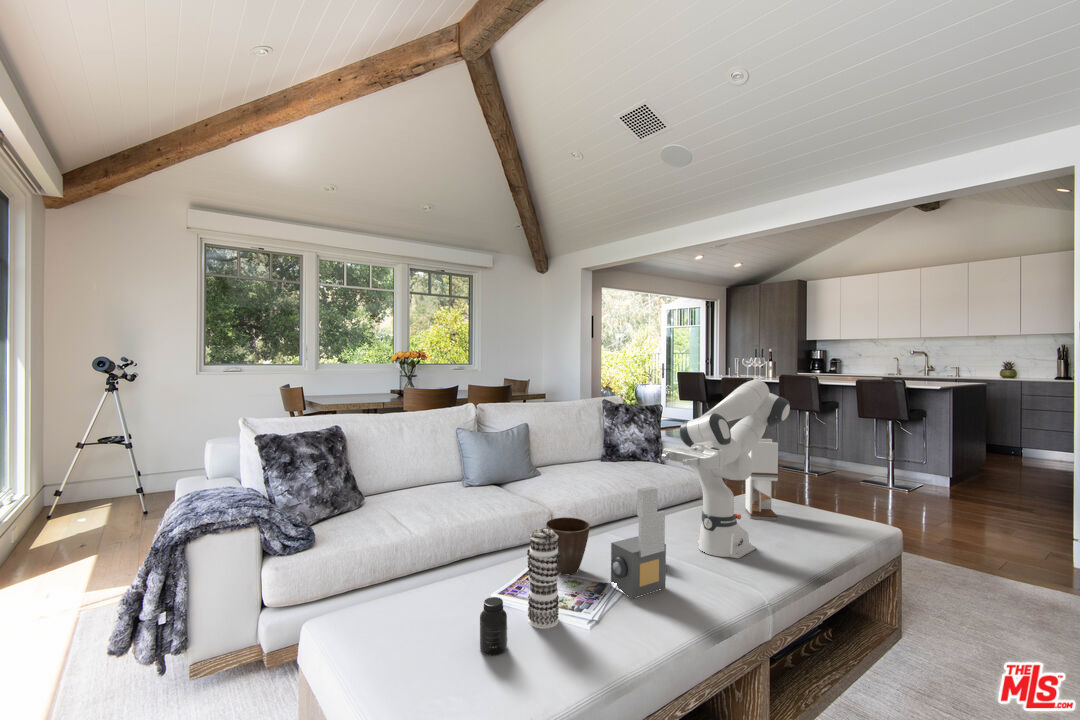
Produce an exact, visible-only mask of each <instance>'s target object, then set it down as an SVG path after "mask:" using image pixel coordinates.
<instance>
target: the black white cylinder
mask: <svg viewBox="0 0 1080 720" xmlns="http://www.w3.org/2000/svg"><path fill="white" fill-rule="evenodd" d="M528 537H529V539H530V545H529V549H527V553H526V555H527V556H528V557H527V568H528V571H527V572H528V573H527V575H528V581H529V593H528V597H527V598H528V602H527V604H528V608H527V612H528V613H527V617H528V619H527V620H528V621H527V622H528V624H529V625H530V626H532V627H533V628H537V629H541V630H542V629H543V630H544V629H545V630H546V629H552V628H553V627H555V626H557V625H558V623H559V600H560V599H559V594H558V590H559V589H558V581H559V580H560V579H559V575H560V573H559V571H558V569H559V568H560V566H559V565H558V564H557V563H558V562H560V558H559V556H560V552H558V546H557V538H558V535H557V534H555V532H554V531H553V530H551V529H548V528H546V527H540V528H536V529H534V530H533V531H532V533H530V534H529V535H528Z"/></svg>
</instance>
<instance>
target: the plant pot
mask: <svg viewBox="0 0 1080 720" xmlns="http://www.w3.org/2000/svg"><path fill="white" fill-rule="evenodd" d="M545 528H548V529H551V530H553V531H554V532H555V534H557V535H558V538H557V546H558V552H560V556H559V558H560V562H558V563H557V564H558V565H559V566H560V568H559V569H558V571H559V574H560V573H561V574H560V575H563V574H569V575H568V576H573V575H575V574H578V571H579V569H580V567H581V565H582V561H583V558H584V555H585V551H586V547H587V544H588V540H589V533H590V529H591V526H590V523H589V522H588V521H587V520H584V519H580V518H577V517H568V516H567V517H555V518H551V519H549V520H548V521H546V523H545Z"/></svg>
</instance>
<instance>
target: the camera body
mask: <svg viewBox="0 0 1080 720" xmlns="http://www.w3.org/2000/svg"><path fill="white" fill-rule="evenodd" d="M638 545H639V535H638V536H633V537H629V538H624V539H621V540H617V541H613V542H610V546H611V547H610V548H611V549H610V583H611V582H614V583H617V586H618V588H619V589H621V590H622V591H623V592H624V593H625V594H626V595H628V596H629V597H628V596H627V597H628V598H630V597H631V598H633V599H636V598H635V597H637V596H640V597H642V596H641V595H643V596H645V595H644V594H646V595H648V594H647V593H649V594H651V593H650V592H652V593H654V592H653V591H655V592H657V591H656V590H658V591H660V590H659V589H661V590H664V589H663V588H665V589H666V579H667V577H666V569H667V568H666V565H667V564H666V563H667V562H666V560H667V557H666V555H667V554H666V553H667V544H666V543H665V551H662V552H659V553H655V554H651V555H647V556H644V557H639V556H638ZM625 594H624V595H625ZM626 595H625V596H626ZM631 598H630V599H631ZM637 598H638V597H637Z"/></svg>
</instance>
